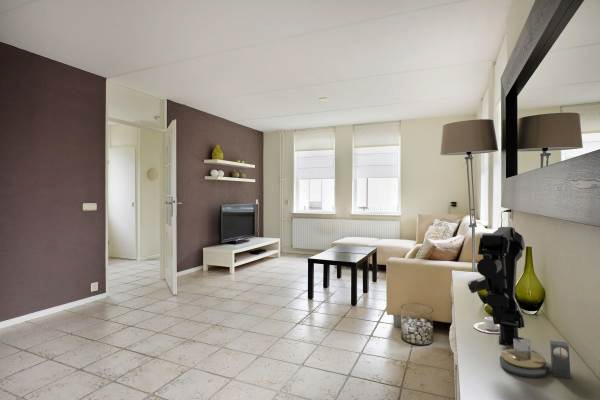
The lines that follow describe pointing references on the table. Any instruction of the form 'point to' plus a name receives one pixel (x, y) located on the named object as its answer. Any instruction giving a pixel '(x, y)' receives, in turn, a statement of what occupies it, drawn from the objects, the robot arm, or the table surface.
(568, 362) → the base
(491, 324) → the candle holder
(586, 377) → the table surface
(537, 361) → the pan
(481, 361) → the table surface
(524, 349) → the cylinder
